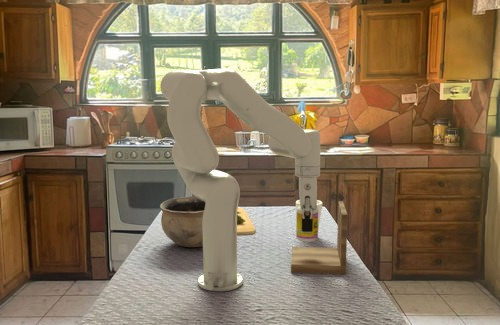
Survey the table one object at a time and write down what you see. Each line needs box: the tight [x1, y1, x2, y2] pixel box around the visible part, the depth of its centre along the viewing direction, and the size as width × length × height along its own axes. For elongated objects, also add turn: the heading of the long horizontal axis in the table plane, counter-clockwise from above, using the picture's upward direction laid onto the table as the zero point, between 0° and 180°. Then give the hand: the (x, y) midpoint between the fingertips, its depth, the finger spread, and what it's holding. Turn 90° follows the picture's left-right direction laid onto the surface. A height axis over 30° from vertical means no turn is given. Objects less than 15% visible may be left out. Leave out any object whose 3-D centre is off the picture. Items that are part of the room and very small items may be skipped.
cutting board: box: [237, 207, 257, 236], centre depth 203 cm, size 35×23×8 cm
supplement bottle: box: [295, 197, 319, 243], centre depth 155 cm, size 7×7×13 cm
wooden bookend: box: [290, 200, 348, 275], centre depth 156 cm, size 16×16×18 cm
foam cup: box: [295, 199, 323, 230], centre depth 183 cm, size 10×9×13 cm
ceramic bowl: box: [159, 195, 205, 248], centre depth 175 cm, size 22×22×15 cm
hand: (307, 227), depth 156 cm, fingers closed on supplement bottle, 6 cm apart
